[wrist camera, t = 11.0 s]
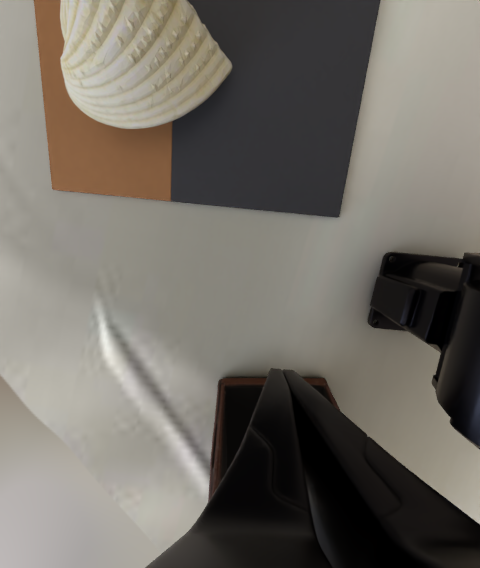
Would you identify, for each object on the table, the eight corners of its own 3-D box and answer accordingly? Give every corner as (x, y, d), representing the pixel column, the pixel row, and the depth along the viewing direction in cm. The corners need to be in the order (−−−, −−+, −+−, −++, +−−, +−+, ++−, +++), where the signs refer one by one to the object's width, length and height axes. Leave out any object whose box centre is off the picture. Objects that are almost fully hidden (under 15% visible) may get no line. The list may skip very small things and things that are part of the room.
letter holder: (223, 525, 27) (204, 827, 14) (218, 375, 22) (182, 614, 9) (310, 526, 27) (379, 830, 14) (325, 375, 22) (456, 617, 9)
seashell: (24, -40, 13) (99, -223, 9) (155, 84, 20) (233, 17, 16) (8, 92, 12) (85, -41, 8) (152, 174, 19) (236, 129, 15)
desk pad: (379, -9, 15) (383, -15, 15) (337, 217, 19) (339, 217, 18) (33, -48, 15) (28, -55, 15) (55, 189, 18) (52, 189, 18)
